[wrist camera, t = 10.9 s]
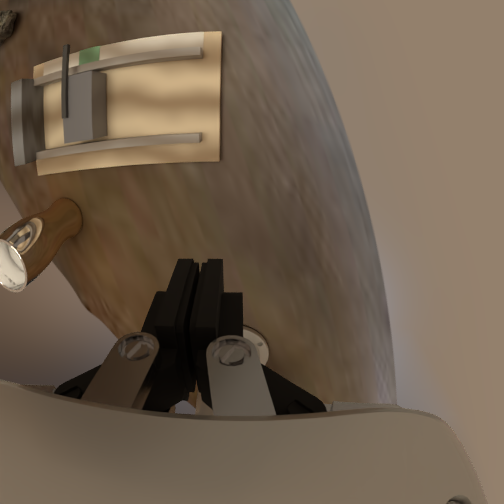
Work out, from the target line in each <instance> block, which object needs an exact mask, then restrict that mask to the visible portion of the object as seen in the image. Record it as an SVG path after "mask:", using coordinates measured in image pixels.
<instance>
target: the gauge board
mask: <svg viewBox="0 0 504 504" xmlns="http://www.w3.org/2000/svg"><path fill="white" fill-rule="evenodd" d="M221 56H222V32H221V31H220V32H194V33H181V34H171V35H162V36H154V37H147V38H141V39H135V40H129V41H124V42H119V43H114V44H109V45H104V46H97V47H92V48H89V49H85V50H81V51H80V52H77V53H73V54H70V55H69V73H68V76H71V75H75V74H79V73H83V72H87V71H97V72H101V73H106V119H107V136H104V137H100V138H96V139H91V140H84V141H78V142H72V143H66V144H64V130H63V119H62V112H61V80H62V57H60V58H57V59H54V60H51V61H48V62H45V63H43V64H40V65H37V66H35V67H34V76H33V79H20V80H17V81H15V82H13V83H11V124H12V141H13V153H14V163H15V166H18V165H23V164H27V163H30V162H32V161H35V160H36V162H37V171H38V176H39V175H46V174H53V173H60V172H67V171H75V170H84V169H93V168H102V167H113V166H125V165H138V164H154V163H174V162H209V161H220V103H221Z"/></svg>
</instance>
